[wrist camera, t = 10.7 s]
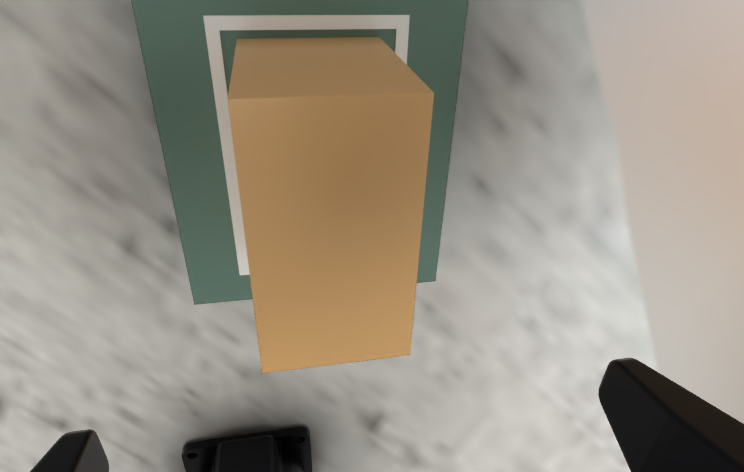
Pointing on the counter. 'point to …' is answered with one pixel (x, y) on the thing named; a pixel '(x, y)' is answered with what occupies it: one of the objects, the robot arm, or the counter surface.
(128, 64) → the counter surface
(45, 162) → the counter surface
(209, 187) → the board
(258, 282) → the block
